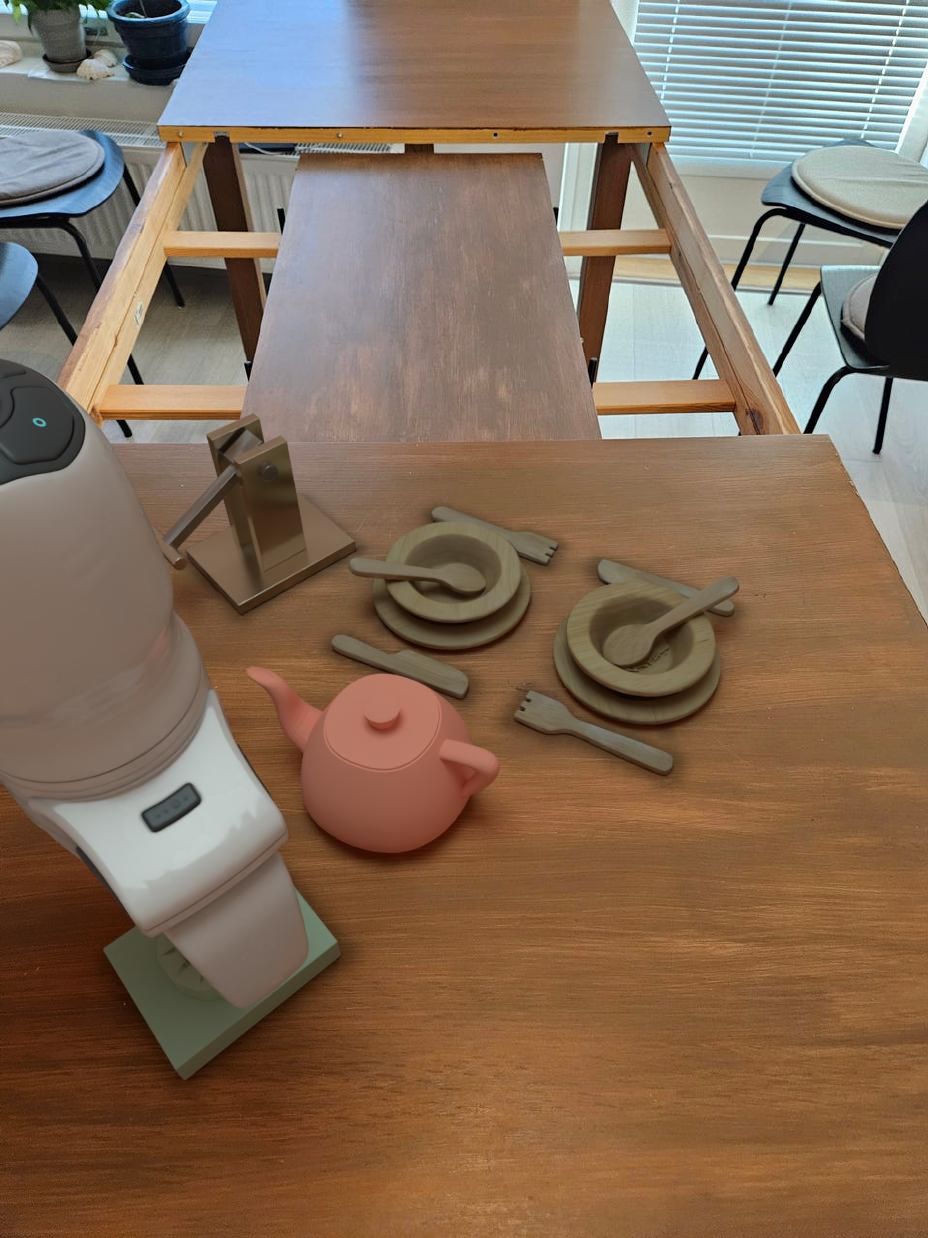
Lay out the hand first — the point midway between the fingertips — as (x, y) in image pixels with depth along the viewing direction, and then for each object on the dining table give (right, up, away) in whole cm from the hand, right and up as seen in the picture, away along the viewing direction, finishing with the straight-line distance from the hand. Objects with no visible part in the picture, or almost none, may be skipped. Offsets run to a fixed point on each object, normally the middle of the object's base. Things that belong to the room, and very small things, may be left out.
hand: (192, 879), depth 47 cm
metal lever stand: (-3, +20, +32) cm, 38 cm away
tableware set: (+21, +13, +27) cm, 36 cm away
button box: (0, -7, +8) cm, 11 cm away
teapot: (+8, +2, +17) cm, 19 cm away
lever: (-5, +23, +25) cm, 35 cm away
